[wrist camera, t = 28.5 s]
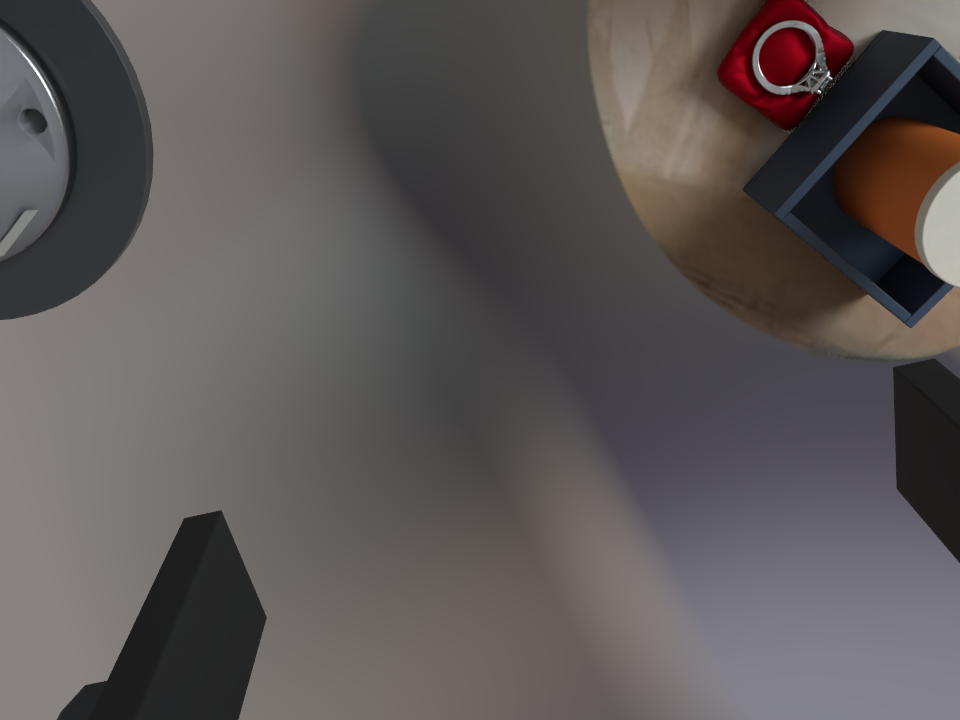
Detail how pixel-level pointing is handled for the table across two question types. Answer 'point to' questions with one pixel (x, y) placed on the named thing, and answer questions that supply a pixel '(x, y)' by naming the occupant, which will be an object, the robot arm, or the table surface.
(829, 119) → the open box
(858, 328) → the table surface
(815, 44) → the engagement ring
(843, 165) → the container
